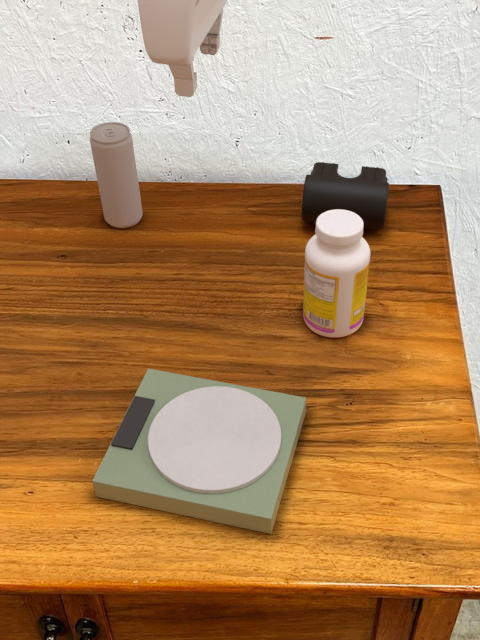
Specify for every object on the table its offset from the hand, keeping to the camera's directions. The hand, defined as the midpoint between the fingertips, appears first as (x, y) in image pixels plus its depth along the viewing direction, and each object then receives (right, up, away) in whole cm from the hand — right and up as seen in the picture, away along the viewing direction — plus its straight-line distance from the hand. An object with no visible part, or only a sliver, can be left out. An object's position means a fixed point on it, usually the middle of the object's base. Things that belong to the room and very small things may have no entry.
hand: (198, 71), depth 76 cm
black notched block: (+16, -11, +22) cm, 29 cm away
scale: (+1, -37, -4) cm, 37 cm away
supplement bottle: (+14, -24, +9) cm, 29 cm away
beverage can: (-12, -10, +22) cm, 27 cm away
